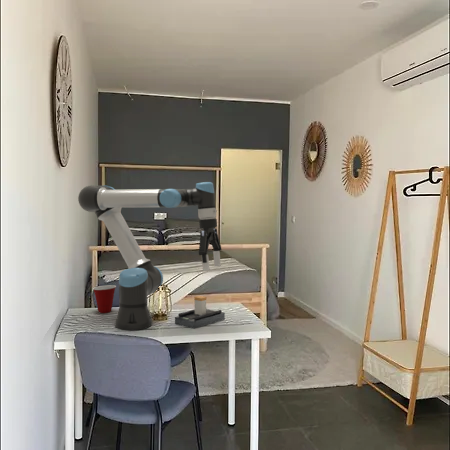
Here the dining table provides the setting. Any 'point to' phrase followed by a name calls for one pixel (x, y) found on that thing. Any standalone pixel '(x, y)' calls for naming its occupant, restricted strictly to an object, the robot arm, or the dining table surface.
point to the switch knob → (200, 305)
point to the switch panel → (199, 318)
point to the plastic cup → (104, 297)
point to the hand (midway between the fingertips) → (212, 268)
